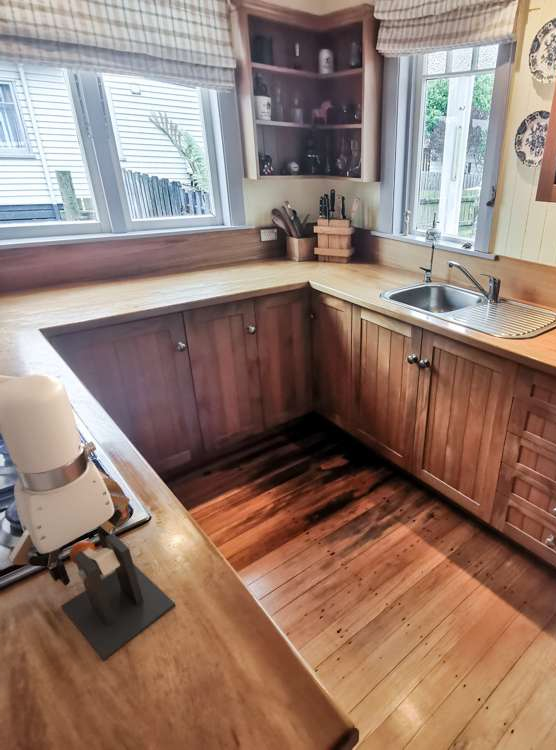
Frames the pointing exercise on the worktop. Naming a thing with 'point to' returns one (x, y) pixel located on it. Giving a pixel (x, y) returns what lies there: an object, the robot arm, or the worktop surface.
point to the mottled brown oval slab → (115, 488)
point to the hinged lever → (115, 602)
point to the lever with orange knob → (96, 556)
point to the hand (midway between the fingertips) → (86, 563)
